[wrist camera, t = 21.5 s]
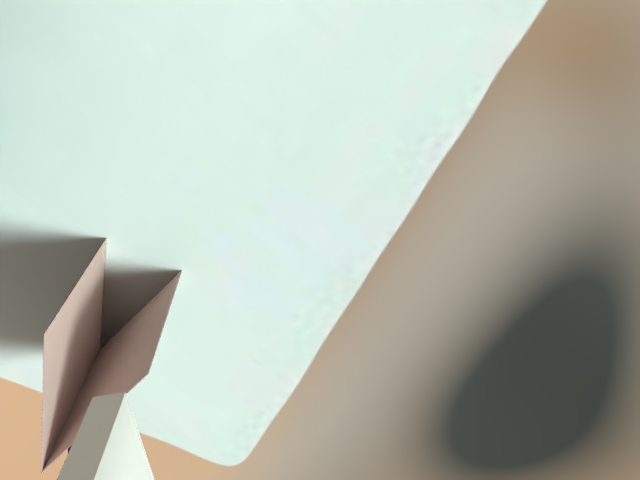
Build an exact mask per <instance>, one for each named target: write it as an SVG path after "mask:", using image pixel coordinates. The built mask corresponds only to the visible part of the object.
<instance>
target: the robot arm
mask: <svg viewBox="0 0 640 480" xmlns="http://www.w3.org/2000/svg"><path fill="white" fill-rule="evenodd" d="M57 480H154V477H153V474H152V471H151V468H150V465H149V462H148V459H147V456H146V453H145V450H144V447H143V444H142V441H141V438H140V435H139V432H138V428H137V425H136V422H135V419H134V416H133V413H132V410H131V407H130V404H129V401H128V398H127V395H126V392H123V393H117V394H110V395H103V396H97V397H93V398H92V400H91V403H90V405H89V407H88V409H87V412H86V414H85V416H84V419H83V421H82V423H81V426H80V428H79V430H78V432H77V435H76V437H75V439H74V442H73V444H72V446H71V448H70V451H69V453H68V455H67V458H66V460H65V462H64V465H63V467H62V469H61V471H60V474H59V476H58V478H57Z"/></svg>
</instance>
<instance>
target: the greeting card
mask: <svg viewBox="0 0 640 480" xmlns="http://www.w3.org/2000/svg"><path fill="white" fill-rule="evenodd" d="M106 241H107V238H106V239H105V241H104V242H103V244H102V245H101V247H100V248H99V250H98V251H97V253H96V254H95V256H94V258H93V259H92V261H91V262H90V264H89V265H88V267H87V268H86V270H85V271H84V273H83V274H82V276H81V278H80V279H79V281H78V282H77V284H76V285H75V287H74V288H73V290H72V291H71V293H70V294H69V296H68V297H67V299H66V301H65V302H64V304H63V305H62V307H61V308H60V310H59V311H58V313H57V314H56V316H55V317H54V319H53V321H52V322H51V324H50V325H49V327H48V328H47V330H46V331H45V333H44V348H43V400H42V453H41V455H42V456H41V473H42V472H43V471H44V470H45V469H46V468H47V467H49V465H50V464H52V463H53V462H54V461H55V460H56V459H57V458H58V457H59V456H60V455H61V454H63V453H64V452H65V451H66V450H67V449H68V453H69V451H70V448H71V446H72V444H73V442H74V439H75V437H76V435H77V432H78V430H79V428H80V426H81V423H82V421H83V419H84V416H85V414H86V412H87V409H88V407H89V405H90V403H91V400H92V398H93V397H97V396H103V395H110V394H117V393H123V392H126V394H127V393H128V392H129V391H130V390H132V389H133V388H134V387H135V386H136V385H137V384H138V383H139V382H140V381H141V380H142V379H143V378H144V377H146V376H147V375H148V374H149V371H150V368H151V365H152V361H153V358H154V355H155V352H156V349H157V346H158V343H159V340H160V337H161V334H162V331H163V327H164V324H165V321H166V318H167V315H168V312H169V309H170V306H171V303H172V300H173V297H174V294H175V290H176V287H177V284H178V281H179V278H180V275H181V272H182V270H181V271H180V272H179V273H178V274H177V275H176V276H175V277H174V278H173V279H172V280H171V281H170V282H169V283H168V284H167V285H166V286H165V287H164V288H163V289H162V290H161V291H160V292H159V293H158V294H157V295H156V296H155V297H154V298H153V299H152V300H150V301H149V302H148V303H147V304H146V305H145V306H144V307H143V308H142V309H141V310H140V311H139V312H138V313H137V314H136V315H135V316H134V317H133V318H132V319H131V320H130V321H129V322H128V323H127V324H126V325H125V326H124V327H123V328H122V329H121V330H120V331H119V332H118V333H116V334H115V335H114V336H113V337H112V338H111V339H110V340H109V341H108V342H107V343H106V344H105V345H104V346H103V347H102V348H101V349H100V338H101V322H102V305H103V289H104V273H105V257H106Z"/></svg>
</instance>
